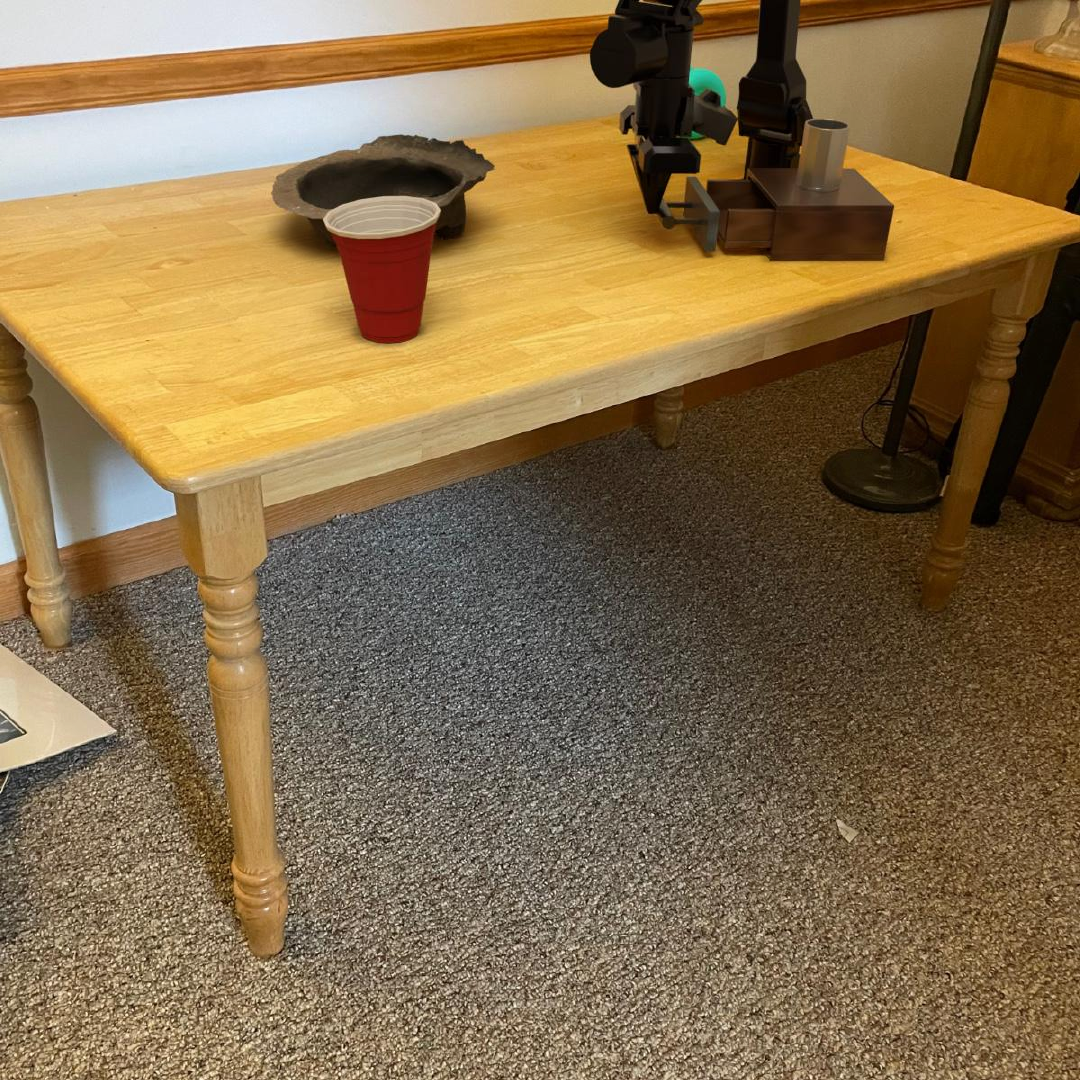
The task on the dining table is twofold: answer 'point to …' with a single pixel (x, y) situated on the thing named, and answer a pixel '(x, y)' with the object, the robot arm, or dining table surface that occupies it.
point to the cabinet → (824, 218)
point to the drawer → (723, 213)
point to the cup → (822, 155)
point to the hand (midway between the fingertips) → (652, 213)
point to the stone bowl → (385, 179)
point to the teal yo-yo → (704, 80)
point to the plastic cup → (386, 261)
